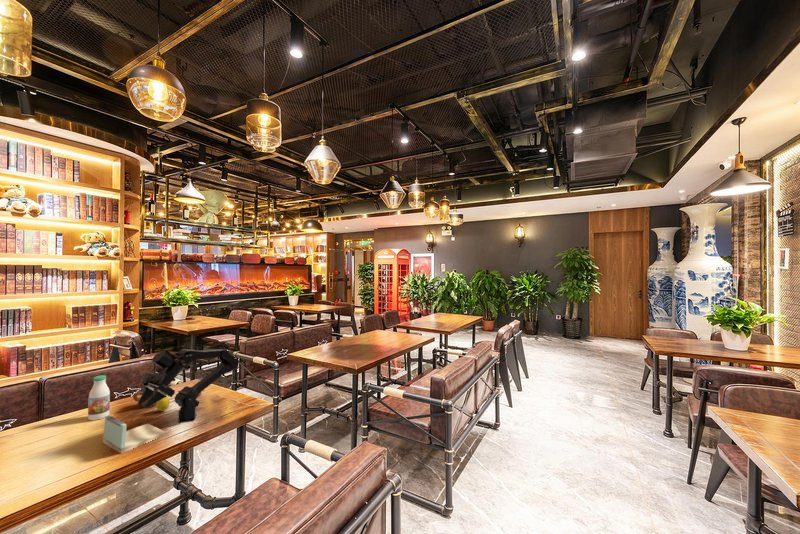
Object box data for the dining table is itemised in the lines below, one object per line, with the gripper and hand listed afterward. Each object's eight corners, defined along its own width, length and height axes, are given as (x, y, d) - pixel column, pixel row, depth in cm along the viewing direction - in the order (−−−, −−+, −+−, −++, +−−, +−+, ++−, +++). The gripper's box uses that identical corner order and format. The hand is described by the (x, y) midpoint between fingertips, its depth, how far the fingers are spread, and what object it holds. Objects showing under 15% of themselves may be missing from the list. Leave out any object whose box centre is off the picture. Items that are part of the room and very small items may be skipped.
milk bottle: (84, 419, 154) (85, 377, 154) (104, 412, 161) (105, 373, 162) (93, 422, 151) (94, 380, 151) (112, 415, 158) (114, 375, 159)
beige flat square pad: (147, 426, 148) (147, 423, 148) (165, 435, 140) (166, 432, 140) (103, 442, 134) (103, 439, 134) (120, 453, 126) (120, 449, 126)
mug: (136, 412, 162) (137, 394, 162) (128, 409, 165) (129, 391, 165) (162, 403, 173) (163, 386, 173) (154, 401, 176) (155, 384, 176)
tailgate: (107, 437, 135) (109, 415, 135) (125, 447, 127) (127, 424, 128) (102, 438, 133) (104, 416, 134) (120, 449, 126) (122, 425, 126)
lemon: (160, 409, 166) (161, 393, 166) (171, 409, 167) (172, 393, 167) (153, 414, 161) (153, 398, 161) (165, 413, 161) (165, 397, 161)
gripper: (146, 361, 148) (115, 393, 138) (167, 367, 139) (136, 401, 129) (164, 373, 155) (137, 404, 145) (186, 380, 146) (158, 413, 136)
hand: (141, 405), depth 139 cm, fingers open, 6 cm apart
